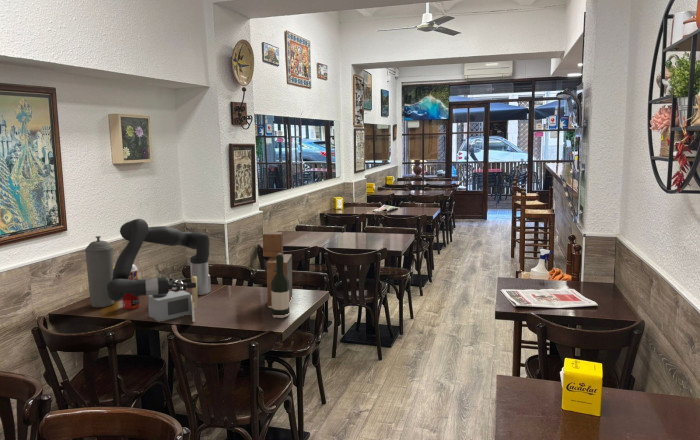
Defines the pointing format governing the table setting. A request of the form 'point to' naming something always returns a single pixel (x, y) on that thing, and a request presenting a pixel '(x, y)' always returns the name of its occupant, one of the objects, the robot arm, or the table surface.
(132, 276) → the smoothie
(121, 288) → the robot arm
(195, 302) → the side door
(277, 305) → the wine bottle
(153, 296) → the camera body
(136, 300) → the canned food
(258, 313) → the table surface
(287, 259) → the stacked wooden blocks
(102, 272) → the canister
